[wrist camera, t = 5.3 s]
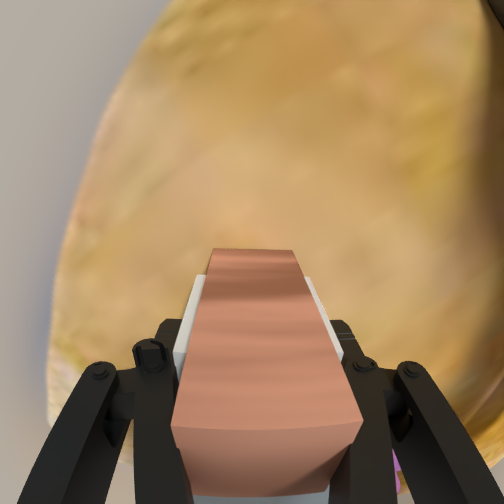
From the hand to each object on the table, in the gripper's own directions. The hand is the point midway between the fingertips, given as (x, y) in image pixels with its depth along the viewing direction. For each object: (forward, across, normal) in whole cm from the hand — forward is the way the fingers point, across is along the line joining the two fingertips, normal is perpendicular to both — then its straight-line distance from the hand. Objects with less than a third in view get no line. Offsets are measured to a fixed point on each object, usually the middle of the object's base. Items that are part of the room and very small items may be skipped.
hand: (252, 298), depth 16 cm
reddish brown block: (+2, 0, -7) cm, 7 cm away
